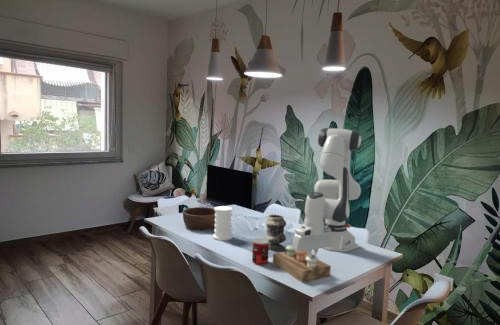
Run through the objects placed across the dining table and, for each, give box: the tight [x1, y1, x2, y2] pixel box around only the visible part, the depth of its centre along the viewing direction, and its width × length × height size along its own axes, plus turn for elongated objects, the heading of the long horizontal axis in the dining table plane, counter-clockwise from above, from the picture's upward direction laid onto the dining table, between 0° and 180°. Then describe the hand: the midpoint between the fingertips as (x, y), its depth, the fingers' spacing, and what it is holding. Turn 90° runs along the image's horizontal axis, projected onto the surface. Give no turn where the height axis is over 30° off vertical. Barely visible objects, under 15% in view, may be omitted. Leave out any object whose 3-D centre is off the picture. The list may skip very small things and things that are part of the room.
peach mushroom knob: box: [295, 251, 308, 262], centre depth 172 cm, size 6×6×8 cm
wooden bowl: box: [182, 206, 215, 231], centre depth 238 cm, size 25×25×10 cm
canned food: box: [251, 238, 270, 266], centre depth 179 cm, size 8×8×11 cm
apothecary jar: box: [263, 214, 287, 251], centre depth 202 cm, size 12×12×18 cm
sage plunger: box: [285, 244, 295, 256], centre depth 179 cm, size 6×6×8 cm
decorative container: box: [212, 205, 233, 242], centre depth 216 cm, size 12×12×18 cm
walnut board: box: [272, 250, 332, 283], centre depth 172 cm, size 16×24×5 cm, turn 29°
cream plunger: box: [306, 256, 319, 268], centre depth 165 cm, size 6×6×8 cm
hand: (311, 258), depth 164 cm, fingers closed, pressing on cream plunger
